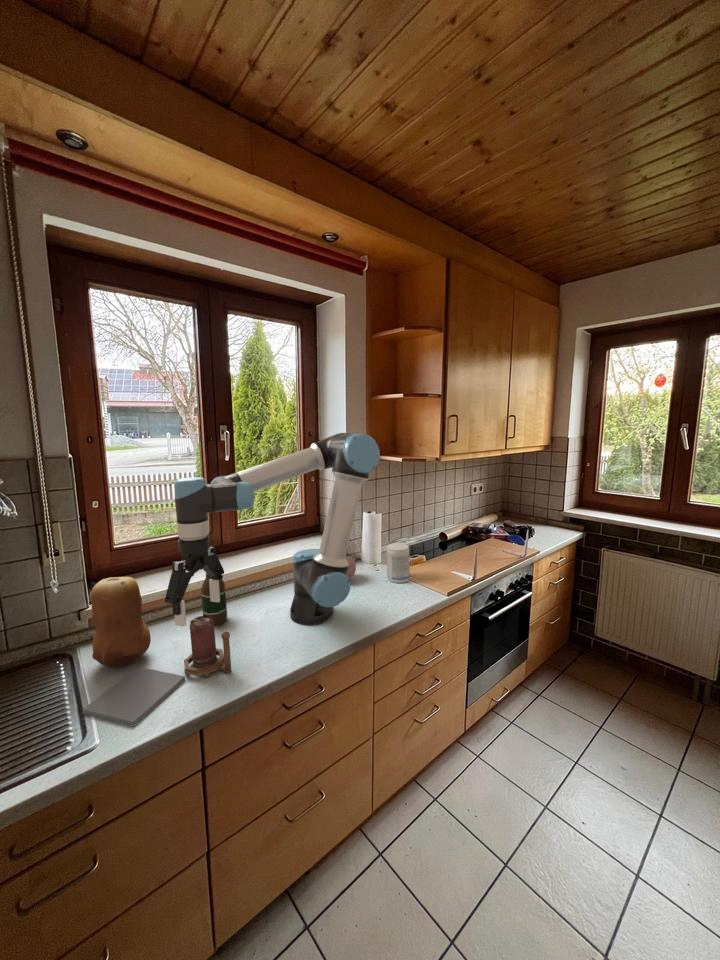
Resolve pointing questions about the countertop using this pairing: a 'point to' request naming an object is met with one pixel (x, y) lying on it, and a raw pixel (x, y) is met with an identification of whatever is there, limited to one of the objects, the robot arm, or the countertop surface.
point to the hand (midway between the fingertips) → (199, 612)
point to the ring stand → (217, 664)
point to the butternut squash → (118, 622)
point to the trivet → (134, 696)
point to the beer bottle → (214, 608)
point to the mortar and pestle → (351, 568)
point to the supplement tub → (398, 562)
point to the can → (203, 641)
